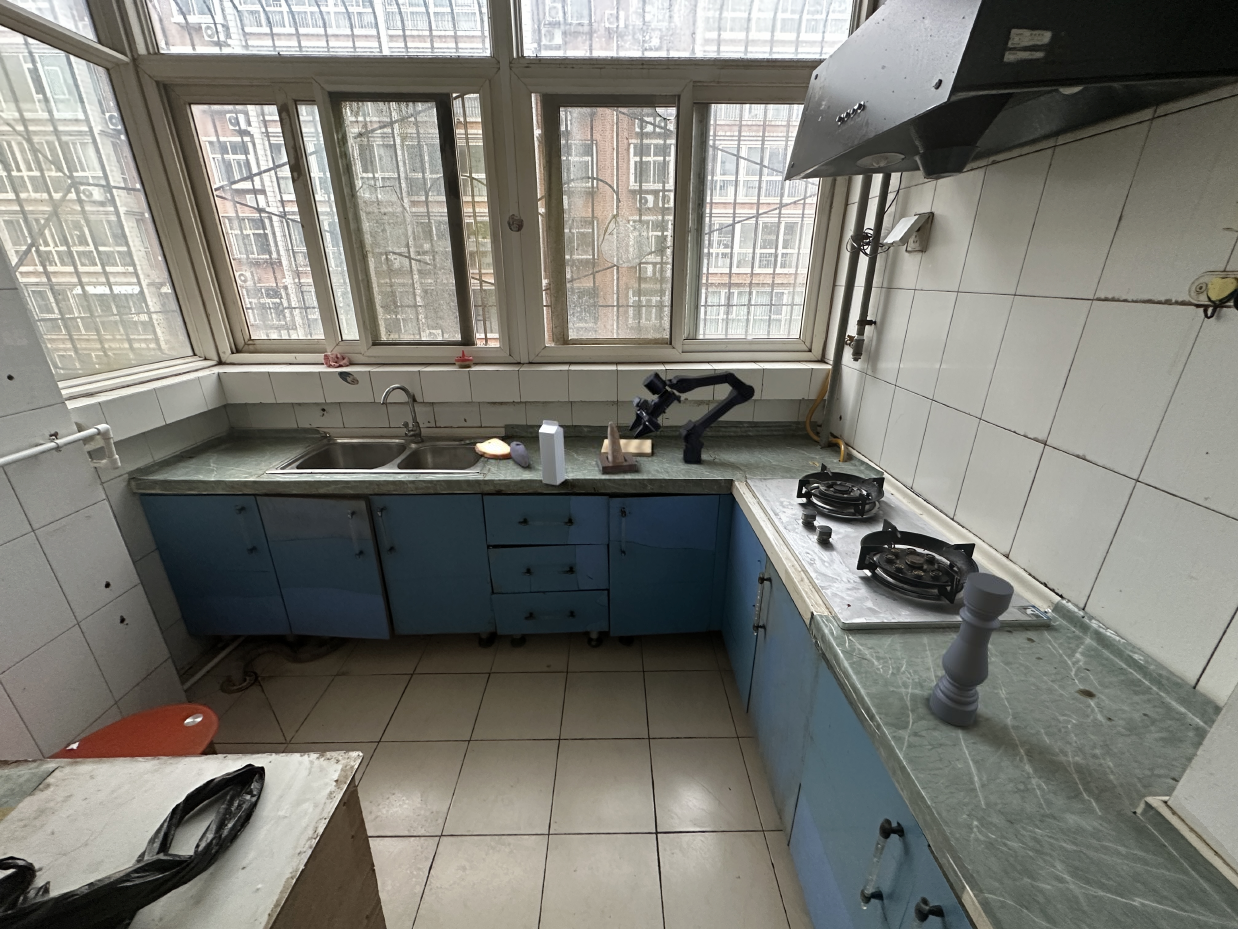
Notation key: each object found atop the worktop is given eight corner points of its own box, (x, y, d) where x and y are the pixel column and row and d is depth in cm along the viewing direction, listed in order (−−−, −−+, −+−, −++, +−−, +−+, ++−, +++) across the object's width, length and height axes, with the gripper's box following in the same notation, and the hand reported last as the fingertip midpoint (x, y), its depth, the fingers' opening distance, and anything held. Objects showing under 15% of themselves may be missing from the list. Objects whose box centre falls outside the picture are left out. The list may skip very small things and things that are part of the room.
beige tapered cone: (609, 465, 191) (608, 471, 186) (601, 420, 184) (599, 426, 179) (625, 463, 190) (625, 469, 185) (618, 418, 184) (617, 423, 178)
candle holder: (956, 695, 85) (995, 570, 76) (982, 726, 80) (1027, 595, 71) (921, 696, 85) (955, 571, 76) (944, 727, 79) (984, 596, 70)
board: (651, 443, 213) (651, 439, 213) (651, 455, 198) (651, 452, 198) (604, 442, 214) (604, 439, 214) (601, 455, 199) (601, 451, 199)
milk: (551, 477, 179) (547, 417, 171) (566, 479, 177) (562, 419, 169) (542, 483, 174) (537, 422, 166) (557, 485, 171) (553, 424, 164)
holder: (630, 459, 195) (630, 452, 194) (636, 471, 183) (637, 463, 182) (597, 461, 193) (597, 454, 192) (602, 474, 181) (601, 466, 180)
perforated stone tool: (533, 468, 187) (532, 451, 184) (520, 470, 185) (518, 453, 182) (522, 456, 199) (521, 439, 197) (509, 458, 197) (508, 441, 195)
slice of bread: (512, 459, 196) (511, 450, 195) (467, 459, 197) (466, 450, 195) (521, 444, 213) (521, 436, 212) (480, 444, 214) (479, 436, 212)
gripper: (640, 383, 188) (612, 413, 190) (652, 394, 171) (621, 427, 173) (660, 403, 192) (632, 432, 194) (674, 415, 175) (642, 447, 177)
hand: (631, 434), depth 184 cm, fingers open, 9 cm apart
